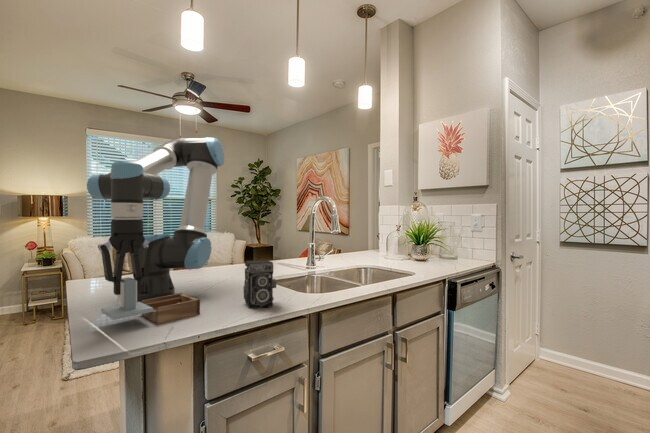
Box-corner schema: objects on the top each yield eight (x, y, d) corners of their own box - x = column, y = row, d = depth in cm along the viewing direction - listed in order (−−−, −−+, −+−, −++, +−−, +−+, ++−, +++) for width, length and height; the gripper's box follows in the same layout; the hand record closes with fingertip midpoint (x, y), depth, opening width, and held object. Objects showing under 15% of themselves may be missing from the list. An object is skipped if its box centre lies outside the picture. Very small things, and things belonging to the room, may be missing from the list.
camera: (246, 312, 99) (246, 265, 99) (241, 304, 109) (241, 260, 109) (279, 309, 104) (279, 263, 104) (271, 300, 113) (271, 258, 113)
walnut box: (141, 317, 95) (141, 300, 95) (181, 308, 104) (181, 292, 104) (158, 326, 87) (158, 308, 87) (199, 315, 97) (199, 299, 97)
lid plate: (101, 312, 86) (101, 279, 86) (139, 305, 94) (139, 274, 93) (113, 320, 80) (113, 284, 80) (153, 311, 87) (153, 278, 87)
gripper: (97, 219, 78) (97, 314, 78) (162, 218, 90) (162, 301, 90) (89, 218, 83) (89, 308, 83) (151, 218, 95) (151, 297, 95)
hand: (127, 304), depth 87 cm, fingers closed on lid plate, 2 cm apart
